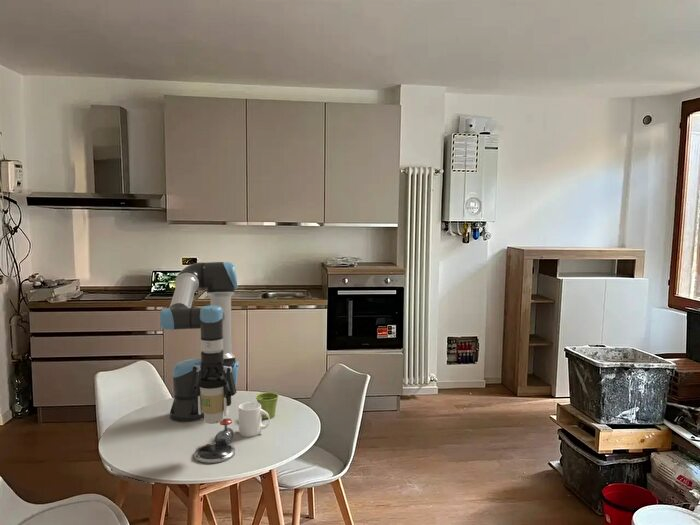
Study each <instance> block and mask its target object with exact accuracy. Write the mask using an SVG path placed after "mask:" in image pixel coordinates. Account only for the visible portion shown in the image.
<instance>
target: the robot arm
mask: <svg viewBox="0 0 700 525" xmlns="http://www.w3.org/2000/svg"><path fill="white" fill-rule="evenodd" d="M238 285H239V284H238V278H237V272H236V268H235V264H234V263H233V262H229V261H214V262H213V261H212V262H211V261H210V262H202V261H201V262H196V263H195V262H194V263H191V264H190V265H187V266H186V267H184V268H183V269H182V270H180V271H179V273H178V274H177V276H176V278H175V280H174V286H175V289H174V292H173V296H172V297H171V302H170V305H169V307H167V308H163V309H161V310H160V313H159V325H160V328H161V329H162V330H171V331H174V330H190V329H191V330H192V329H193V330H194V329H196V330H197V329H199V330H200V351H201V352H200V356H201V357H200V358H189V359H185V360H182V361H179V362H178V363H176V364H174V366H173V372H172V379H173V380H172V381H173V401H172V403H171V408H170V411H169V418H170V419H171V421H174V422H177V423H178V422H179V423H189V422H190V423H191V422H196V421H200V420H202V419H204V412H203V408H202V402H201V395H200V387H199V386H198V385H199V382H200V379H201V378H202V379H203V380H206V379H207V378H208V377H213V378H216V379H217V380H222V379H224V377H225V378H226V380H227V385H225V386H224V388H223V391H224V393H225V395H226V396H225V397H224V413H223V417H227V416H228V415H229V414H230V406H231V405H232V397H233V396H234V395H236V394H237V388H236V386H237V381H238V373H239V365H240V362H239V361H238V360H236V355H234V354H233V352H232V349H233V348H232V347H233V346H232V344H233V343H232V340H233V339H232V296H234V294H235V293H236V292H235V290H237V289H238V287H239V286H238ZM198 290H201V291H202V290H205V291H206V294H207V295H208V297H209V298H210V305H204V306H202V307H192V305H193V301H194V296H195V293H196V291H198Z"/></svg>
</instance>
